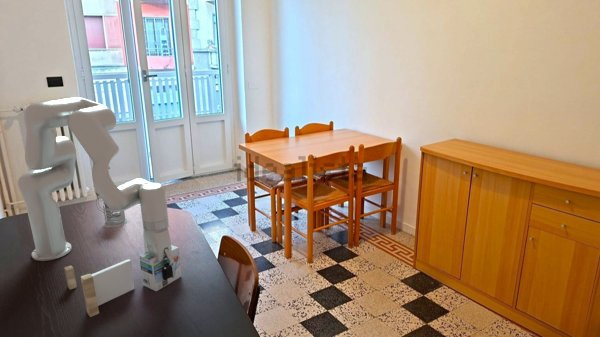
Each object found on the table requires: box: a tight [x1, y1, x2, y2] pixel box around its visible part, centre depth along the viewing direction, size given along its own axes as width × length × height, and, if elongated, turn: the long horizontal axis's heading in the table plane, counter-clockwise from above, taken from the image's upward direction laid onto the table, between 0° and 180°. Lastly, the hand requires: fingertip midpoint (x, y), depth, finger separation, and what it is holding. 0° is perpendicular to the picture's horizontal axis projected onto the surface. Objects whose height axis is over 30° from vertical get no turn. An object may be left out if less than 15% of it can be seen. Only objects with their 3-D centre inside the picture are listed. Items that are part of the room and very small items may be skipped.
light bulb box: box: [138, 244, 182, 292], centre depth 134 cm, size 11×7×11 cm, turn 148°
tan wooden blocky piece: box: [63, 265, 100, 318], centre depth 124 cm, size 20×2×12 cm, turn 44°
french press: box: [95, 166, 129, 229], centre depth 173 cm, size 10×12×25 cm
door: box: [90, 258, 136, 307], centre depth 125 cm, size 14×1×10 cm, turn 139°
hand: (161, 272), depth 135 cm, fingers closed on light bulb box, 7 cm apart
